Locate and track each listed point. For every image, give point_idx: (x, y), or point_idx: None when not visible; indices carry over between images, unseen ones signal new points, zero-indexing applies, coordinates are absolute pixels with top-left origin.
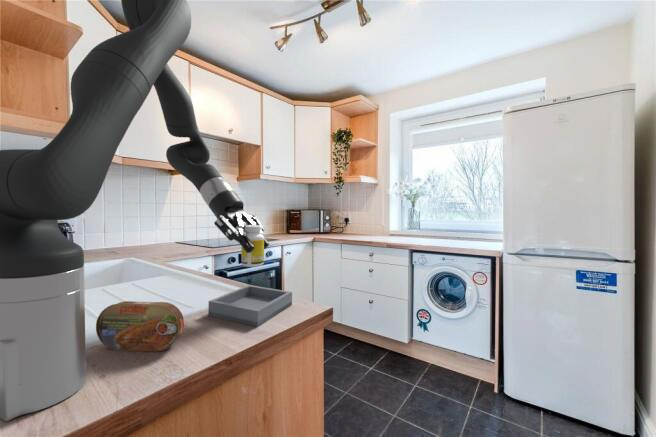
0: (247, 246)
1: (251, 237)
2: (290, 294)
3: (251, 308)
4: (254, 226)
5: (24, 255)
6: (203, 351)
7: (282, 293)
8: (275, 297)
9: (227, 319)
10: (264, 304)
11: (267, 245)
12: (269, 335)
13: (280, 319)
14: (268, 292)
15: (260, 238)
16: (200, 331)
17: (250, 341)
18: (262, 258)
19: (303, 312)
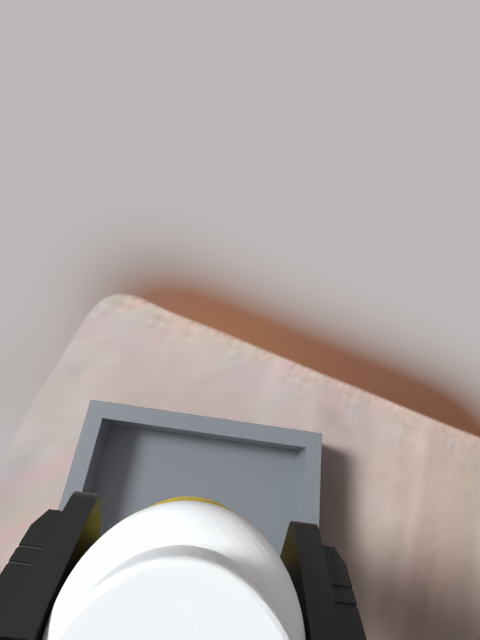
0: (341, 570)
1: (293, 590)
2: (105, 403)
3: (309, 469)
4: (267, 620)
5: None
6: (473, 503)
7: (98, 440)
8: (93, 478)
9: None
10: (160, 497)
11: (100, 495)
12: (336, 385)
13: (234, 398)
14: None
15: (221, 507)
16: (403, 605)
17: (382, 416)
18: (187, 496)
19: (161, 351)
